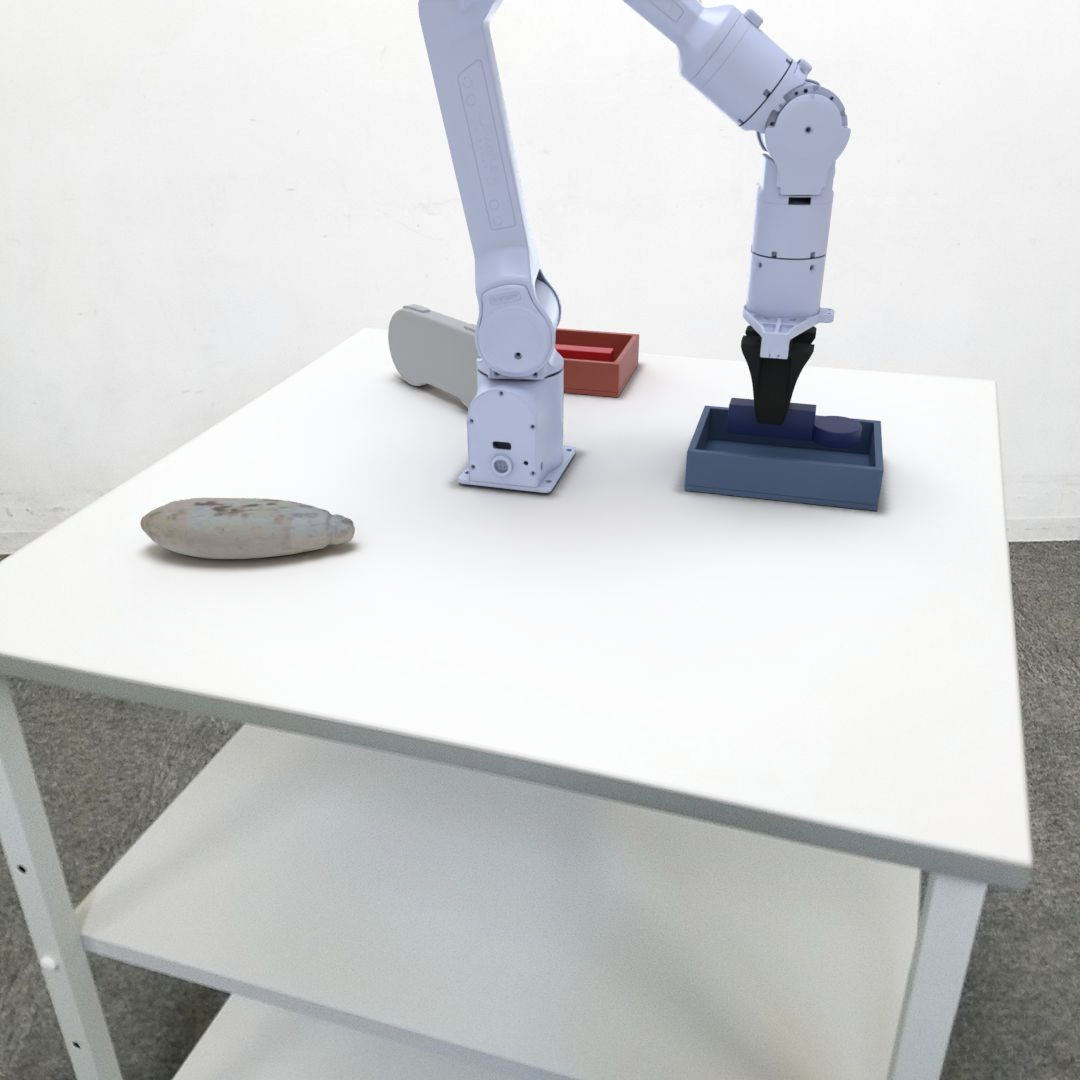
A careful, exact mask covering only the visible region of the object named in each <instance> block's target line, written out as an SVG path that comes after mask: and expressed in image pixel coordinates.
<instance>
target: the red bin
mask: <svg viewBox="0 0 1080 1080" xmlns="http://www.w3.org/2000/svg"><path fill="white" fill-rule="evenodd" d="M555 344H561V345H574V346H587V347H600V348H613V349H614V362H604V361H591V360H579V359H566V358H563V359H564V366H563V367H564V394H577V395H588V396H598V397H610V398H619V396H621V393H622V392H623V390H624V388H625V387H626V385H627V384H628V382H629V380H630V379H631V377H632V375H633V374H634V373H635V370H636V369H637V368H638V366H639V351H640V334H639V333H626V332H614V331H600V330H587V329H572V328H558V327H557V329H556V337H555Z"/></svg>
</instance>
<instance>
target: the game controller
mask: <svg viewBox="0 0 1080 1080" xmlns="http://www.w3.org/2000/svg"><path fill="white" fill-rule="evenodd" d="M476 325H477V324H474V323H468V322H466V321H463V320H460V319H457V318H454V317H452V316H449V315H446V314H444V313H441V312H437V311H435V310H432V309H430V308H428V307H426V306H422V305H419V304H415V303H414V304H413V303H411V304H407V305H403V306H402V308H400V309H397V310H396V311H395V312H394V313H393V315H392V316H391V318H390V321H389V323H388V330H387V341H388V348H389V352H390V356H391V359H392V362H393V365H394V367H395V369H396V371H397V372H398V374H399V376H400V377H401V378H402V380H404V381H405V382H406V383H408V384H409V385H411V386H414V387H421V386H426V385H430V386H431V387H434V388H437V389H439V390H441V391H443V392H446V393H448V394H451V395H452V396H454V397H456V398H458V399H459V400H460V401H461V403H462V404H463V405H464V406H465V408H466V409H467V410H468V409H469V406H470V404H471V402H472V401H473V399H474V398H475V396H476V394H477V359H478V355H479V353H478V351H477V348H476V344H475V328H476Z"/></svg>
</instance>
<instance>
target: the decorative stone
mask: <svg viewBox="0 0 1080 1080" xmlns="http://www.w3.org/2000/svg"><path fill="white" fill-rule="evenodd" d="M140 527H141V530H142V531H143V532H144V533H145V535H146V536H147V537H148V538H149V539H151V541H152V542H154V543H155V544H157V545H158V546H160V547H162V548H164V549H165V550H168V551H171V552H173V553H176V554H180V555H184V556H189V557H194V558H201V559H211V560H250V559H263V558H271V557H281V556H290V555H295V554H300V553H301V554H302V553H306V552H311V551H317V550H321V549H325V548H326V547H328V546H329V545H330V546H337V545H342V544H345V543H348V542H351V541H352V540H353V538H354V535H355V532H356V526H355V525H354V521H353V520H352V519H351V518H348V517H345V516H344V515H341V514H331V512H330V511H329V510H327V509H323V508H320V507H317V506H314V505H310V504H306V503H301V502H297V501H291V500H284V499H275V498H259V497H252V498H250V497H248V498H247V497H194V498H186V499H179V500H173V501H170V502H168V503H166V504H163V505H161V506H159V507H156V508H155V509H153V510H151V511H149V512H147V514H145V515H144V516H142V518H141V520H140Z"/></svg>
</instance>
